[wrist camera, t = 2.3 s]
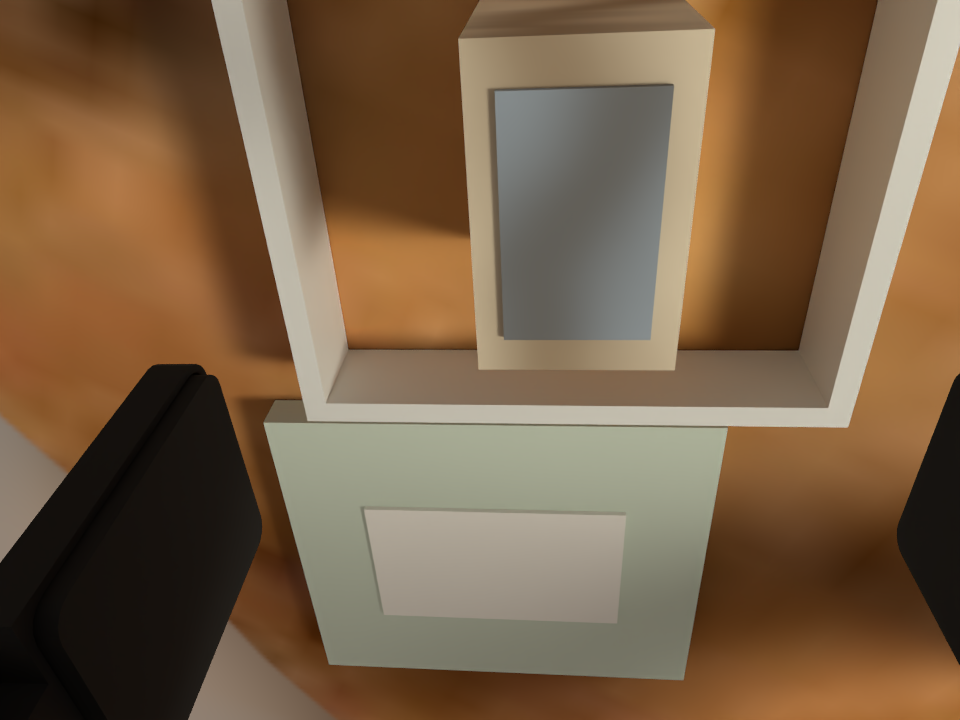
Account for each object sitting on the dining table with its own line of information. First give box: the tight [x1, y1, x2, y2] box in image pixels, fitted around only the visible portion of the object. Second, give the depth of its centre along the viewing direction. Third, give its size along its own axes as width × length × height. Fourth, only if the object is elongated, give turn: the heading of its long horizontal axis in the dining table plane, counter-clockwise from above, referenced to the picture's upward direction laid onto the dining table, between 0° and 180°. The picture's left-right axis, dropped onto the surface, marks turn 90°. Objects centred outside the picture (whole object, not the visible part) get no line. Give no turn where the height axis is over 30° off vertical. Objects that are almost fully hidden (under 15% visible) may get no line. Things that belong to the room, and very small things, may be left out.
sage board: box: [263, 400, 728, 680], centre depth 33 cm, size 18×16×2 cm
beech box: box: [458, 0, 715, 370], centre depth 20 cm, size 5×8×8 cm, turn 3°
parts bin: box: [211, 0, 960, 427], centre depth 22 cm, size 19×19×4 cm
